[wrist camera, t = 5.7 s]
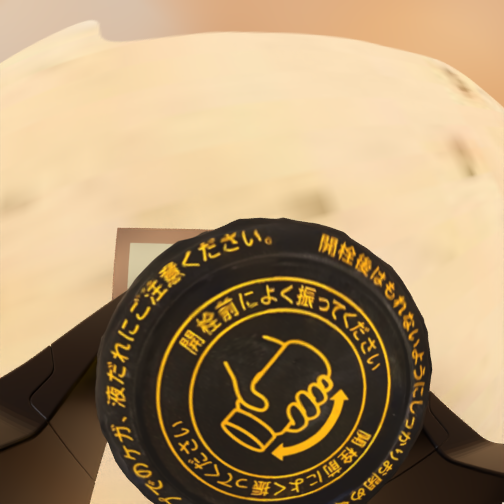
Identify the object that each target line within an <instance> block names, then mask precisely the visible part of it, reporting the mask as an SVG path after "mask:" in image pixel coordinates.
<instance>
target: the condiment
mask: <svg viewBox="0 0 504 504" xmlns="http://www.w3.org/2000/svg"><path fill="white" fill-rule="evenodd" d="M431 374H432V363H431V357H430V348H429V342H428V331H427V328H426V326H425V323H424V318H423V317H422V315H421V313H420V311H419V309H418V308H417V306H416V304H415V302H414V300H413V298H412V296H411V294H410V292H409V291H408V289H407V288H406V286H405V284H404V283H403V281H402V280H401V278H400V277H399V276H398V274H397V273H396V272H395V270H394V269H393V268H392V267H391V266H390V265H388V264H387V263H386V262H384V261H383V260H381V259H380V258H379V257H377V256H376V255H375V254H373V253H372V252H371V251H370V250H368V249H367V248H365V247H364V246H362V245H360V244H359V243H357V242H356V241H354V240H353V239H351V238H350V237H349V236H348V235H347V234H345V233H344V232H342V231H339V230H336V229H334V228H330V227H327V226H324V225H320V224H316V223H308V222H302V221H296V220H291V219H287V218H279V219H268V218H251V219H238V220H236V221H233V222H231V223H229V224H227V225H225V226H222V227H220V228H217V229H215V230H213V231H205V232H202V233H200V234H199V235H197V236H195V237H193V238H189V239H185V240H180V241H177V242H176V243H175V244H173V245H172V246H170V247H169V248H168V249H166V250H165V251H164V252H162V253H161V254H160V255H158V256H157V257H156V258H155V259H154V260H153V261H152V262H151V263H150V264H149V265H148V266H147V267H146V268H145V269H144V270H143V271H142V272H141V273H140V274H139V275H138V276H137V278H136V279H135V280H134V281H133V283H132V284H131V286H130V287H129V289H128V290H127V292H126V293H125V294H124V296H123V297H122V299H121V300H120V302H119V303H118V305H117V308H116V309H115V311H114V313H113V315H112V317H111V319H110V322H109V324H108V327H107V329H106V331H105V333H104V334H103V336H102V337H101V342H100V346H99V350H98V353H97V366H96V386H95V401H96V408H97V417H98V420H99V423H100V427H101V431H102V434H103V435H104V437H105V438H106V440H107V442H108V443H109V446H110V449H111V451H112V454H113V456H114V459H115V461H116V463H117V464H118V466H119V467H120V469H121V470H122V471H123V473H124V474H125V475H126V477H127V478H128V479H129V480H130V481H131V482H132V483H133V484H134V485H135V486H136V487H137V488H138V489H139V490H140V492H141V493H142V494H143V495H144V496H145V497H146V498H148V499H149V500H150V501H151V502H153V503H154V504H367V503H368V502H369V501H370V500H371V499H372V498H373V497H374V496H375V495H376V494H377V493H378V492H379V491H380V490H381V489H382V488H383V486H384V485H385V484H386V483H387V482H388V481H389V480H390V479H391V478H392V477H393V476H394V474H395V473H396V472H397V470H398V469H399V468H400V466H401V464H402V463H403V462H404V460H405V459H406V457H407V456H408V454H409V451H410V450H411V449H412V447H413V445H414V443H415V441H416V439H417V438H418V436H419V434H420V432H421V430H422V427H423V423H424V419H425V414H426V409H427V406H428V402H429V388H430V380H431Z"/></svg>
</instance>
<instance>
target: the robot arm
mask: <svg viewBox="0 0 504 504" xmlns="http://www.w3.org/2000/svg"><path fill="white" fill-rule="evenodd" d="M126 292H127V290H126V291H125V292H123V293H122V294H120V295H119V296H118V297H116V298H115V299H113V300H112V301H110V302H109V303H108V304H106V305H105V306H103V307H102V308H100V309H99V310H98V311H96V312H95V313H93V314H92V315H91V316H89V317H88V318H86V319H85V320H84V321H82V322H81V323H79V324H78V325H77V326H75V327H74V328H73V329H71V330H70V331H68V332H67V333H66V334H64V335H63V336H62V337H60V338H59V339H57V340H56V341H55V342H53V343H52V344H51V346H48V347H46V348H45V349H44V350H42V351H41V352H40V353H38V354H37V355H36V356H34V357H33V358H31V359H30V360H28V361H27V362H26V363H24V364H22V365H21V366H19V367H18V368H16V369H14V370H13V371H11V372H10V373H8V374H6V375H5V376H3V377H1V378H0V504H90V500H91V496H92V492H93V489H94V485H95V482H94V481H96V477H97V474H98V470H99V467H100V463H101V460H102V456H103V453H104V450H105V446H106V443H107V440H106V438H105V437H104V435H103V434H102V431H101V427H100V423H99V420H98V417H97V408H96V401H95V386H96V366H97V353H98V350H99V346H100V342H101V337H102V336H103V334H104V333H105V331H106V329H107V327H108V324H109V322H110V319H111V317H112V315H113V313H114V311H115V309H116V308H117V305H118V303H119V302H120V300H121V299H122V297H123V296H124V294H125V293H126ZM367 504H504V444H499V443H494V442H490V441H488V440H486V439H484V438H483V437H481V436H480V435H479V434H478V433H477V432H475V431H474V430H473V429H472V428H471V427H470V426H468V425H467V424H466V423H465V422H464V421H463V420H461V419H460V418H459V417H458V416H457V415H456V414H454V413H453V412H452V411H451V410H450V409H449V408H448V407H447V406H446V405H444V404H443V403H442V402H441V401H440V400H439V399H438V398H437V397H436V396H435V395H434V394H433V393H432V392H431V391H429V402H428V406H427V409H426V414H425V419H424V423H423V427H422V430H421V432H420V434H419V436H418V438H417V439H416V441H415V443H414V445H413V447H412V449H411V450H410V451H409V454H408V456H407V457H406V459H405V460H404V462H403V463H402V464H401V466H400V468H399V469H398V470H397V472H396V473H395V474H394V476H393V477H392V478H391V479H390V480H389V481H388V482H387V483H386V484H385V485H384V486H383V488H382V489H381V490H380V491H379V492H378V493H377V494H376V495H375V496H374V497H373V498H372V499H371V500H370V501H369V502H368V503H367Z"/></svg>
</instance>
